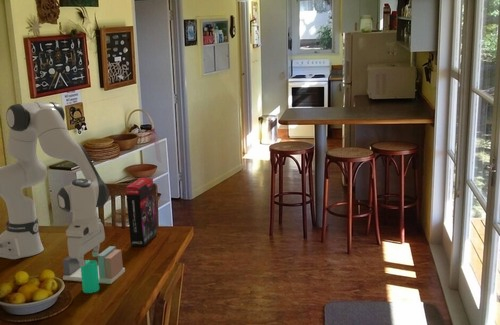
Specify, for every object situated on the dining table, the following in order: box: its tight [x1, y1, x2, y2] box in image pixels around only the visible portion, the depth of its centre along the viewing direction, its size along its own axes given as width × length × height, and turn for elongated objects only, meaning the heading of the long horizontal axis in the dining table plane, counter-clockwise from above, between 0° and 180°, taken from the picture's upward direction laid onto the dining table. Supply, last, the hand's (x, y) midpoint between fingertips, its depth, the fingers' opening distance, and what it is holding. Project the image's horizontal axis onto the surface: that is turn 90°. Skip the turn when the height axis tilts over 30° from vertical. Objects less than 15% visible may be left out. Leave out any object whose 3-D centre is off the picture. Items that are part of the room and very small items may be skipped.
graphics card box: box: [125, 177, 158, 248], centre depth 266 cm, size 17×7×27 cm, turn 168°
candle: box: [81, 258, 100, 294], centre depth 218 cm, size 6×6×12 cm
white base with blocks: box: [62, 245, 126, 285], centre depth 231 cm, size 20×12×10 cm, turn 76°
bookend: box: [62, 255, 80, 276], centre depth 233 cm, size 2×10×6 cm, turn 166°
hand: (89, 261), depth 217 cm, fingers open, 8 cm apart
